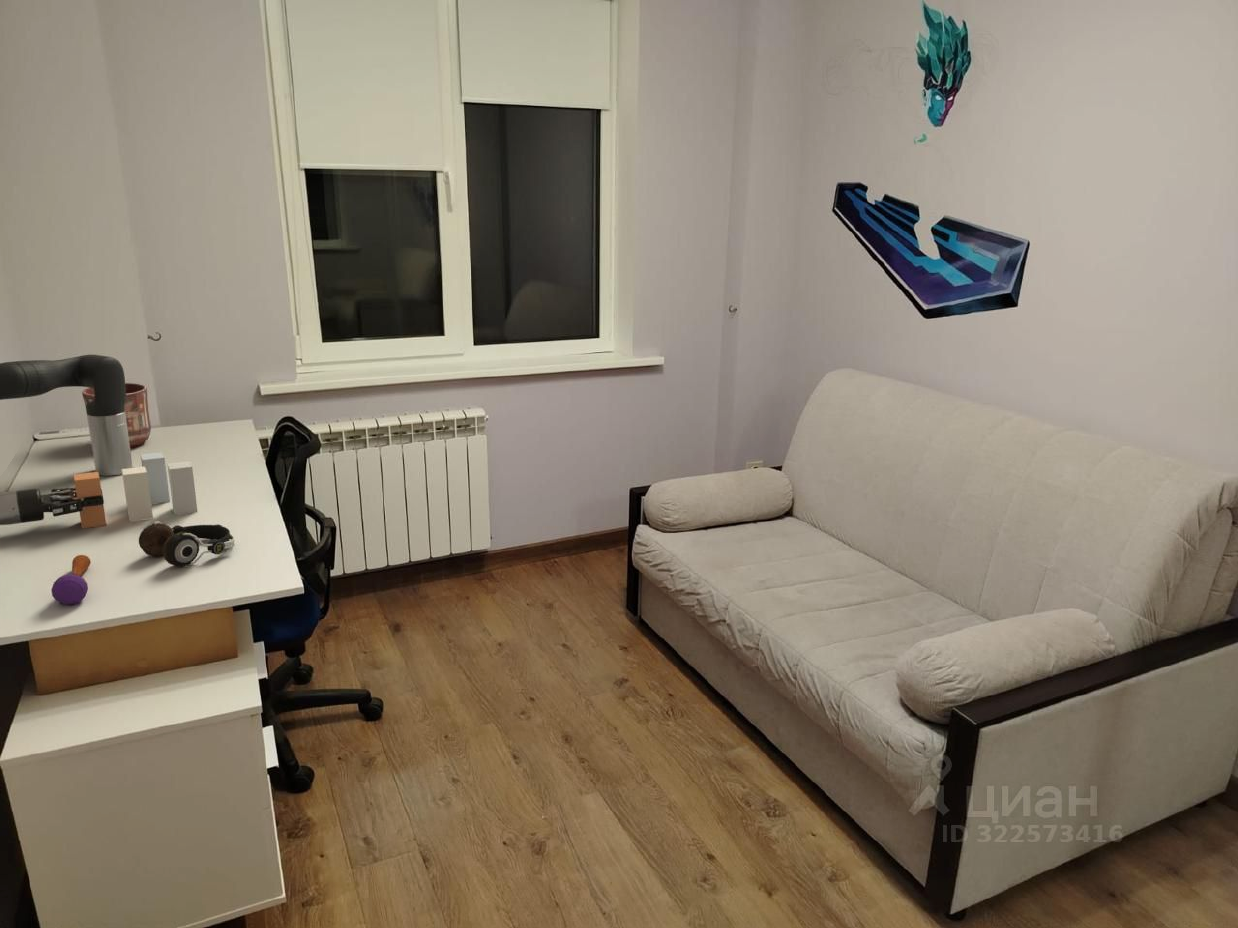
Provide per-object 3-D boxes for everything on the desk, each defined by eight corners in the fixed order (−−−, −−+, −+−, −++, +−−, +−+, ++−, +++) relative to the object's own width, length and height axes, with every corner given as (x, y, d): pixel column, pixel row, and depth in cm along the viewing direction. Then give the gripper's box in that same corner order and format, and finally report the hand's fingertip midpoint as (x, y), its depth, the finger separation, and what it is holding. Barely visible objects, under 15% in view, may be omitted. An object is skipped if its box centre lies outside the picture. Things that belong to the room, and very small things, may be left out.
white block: (146, 498, 224) (140, 454, 220) (167, 495, 226) (162, 452, 223) (148, 504, 220) (142, 460, 216) (170, 501, 222) (164, 457, 219)
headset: (128, 520, 188) (212, 508, 205) (128, 554, 189) (211, 539, 206) (175, 538, 179) (258, 524, 196) (174, 573, 181) (256, 556, 198)
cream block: (128, 515, 212) (121, 469, 209) (150, 511, 215) (144, 466, 211) (130, 521, 208) (123, 474, 205) (153, 518, 211) (146, 472, 207)
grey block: (173, 508, 217) (167, 463, 214) (194, 505, 220) (189, 461, 216) (175, 514, 213) (169, 469, 210) (197, 511, 216) (192, 466, 212)
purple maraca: (99, 549, 183) (87, 580, 165) (96, 576, 184) (84, 609, 166) (66, 548, 180) (50, 579, 163) (63, 574, 181) (48, 609, 163)
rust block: (81, 521, 207) (73, 474, 203) (105, 518, 210) (98, 471, 206) (82, 528, 203) (74, 480, 199) (106, 524, 206) (99, 477, 202)
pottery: (76, 447, 263) (67, 390, 258) (127, 434, 279) (120, 380, 273) (117, 456, 257) (109, 398, 251) (167, 442, 272) (160, 387, 267)
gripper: (13, 501, 190) (102, 490, 199) (15, 482, 201) (98, 472, 210) (19, 532, 192) (107, 520, 201) (20, 512, 204) (103, 501, 213)
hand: (102, 496), depth 206 cm, fingers closed on rust block, 5 cm apart
